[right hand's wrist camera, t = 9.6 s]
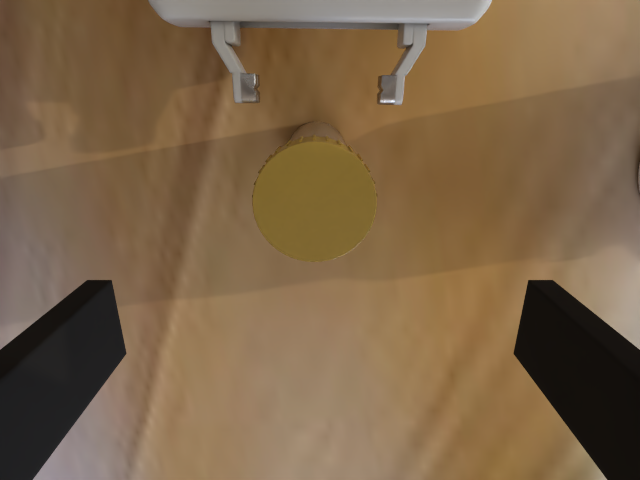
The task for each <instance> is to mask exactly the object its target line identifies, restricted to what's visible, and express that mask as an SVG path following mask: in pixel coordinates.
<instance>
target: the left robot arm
mask: <svg viewBox="0 0 640 480" xmlns="http://www.w3.org/2000/svg"><path fill="white" fill-rule="evenodd" d="M148 1H149V3H150V5H151V6H152V8H153V9H154V10H155V11H156V13H157V14H158V15H159V16H160V17H161V18H162V19H163V20H165V21H167V22H168V23H171V24H173V25H175V26H179V27H211V35H212V43H213V45H214V47H215V48H216V50H217V52H218V53H219V55H220V57H221V58H222V60H223V62H224V63H225V65H226V67H227V68H228V70H229V72H230V73H232V78H233V94H234V101H235V103H259V102H260V92H259V91H258V87H259V86H260V84H259V75H257V74H247V73H246V71H245V69H244V67H243V66H242V64H241V62H240V60H239V59H238V57H237V55H236V53H235V51H234V50H233V48H232V46H240V45H241V38H240V28H301V29H381V30H398V41H397V47H398V48H406V50H405V51H404V53H403V55H402V56H401V58H400V60H399V62H398V63H397V65H396V67H395V68H394V70H393V72H392V73H391V75H381V76H378V88H379V90H380V91H379V92H378V94H377V104H383V105H401V104H402V101H403V92H404V80H405V75H407V74H408V72H409V71H410V69H411V68H412V66H413V64H414V63H415V61H416V60H417V58H418V57H419V55H420V53H421V52H422V50H423V49H424V47H425V44H426V34H427V30H461V29H464V28H467V27H469V26H471V25H473V24H475V23H476V22H477V21H478V20H479V19H480V18H481V17H482V15H483V14H484V13H485V12H486V11H487V9H488V8H489V6H490V4H491V1H492V0H148ZM638 183H639V191H640V164H639V172H638Z"/></svg>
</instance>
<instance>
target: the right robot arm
mask: <svg viewBox="0 0 640 480" xmlns="http://www.w3.org/2000/svg"><path fill="white" fill-rule="evenodd" d="M125 355H126V349H125V344H124V339H123V334H122V329H121V324H120V319H119V315H118V310H117V305H116V300H115V295H114V290H113V285H112V280H87V281H86V282H84V283H83V284H82V285H81V286H79V287H78V288H77V289H76V290H74V291H73V292H72V293H71V294H69V295H68V296H67V297H66V298H64V299H63V300H62V301H61V302H59V303H58V304H57V305H56V306H54V307H53V308H52V309H51V310H49V311H48V312H47V313H46V314H44V315H43V316H42V317H41V318H39V319H38V320H37V321H36V322H35V323H33V324H32V325H31V326H30V327H28V328H27V329H26V330H25V331H23V332H22V333H21V334H20V335H18V336H17V337H16V338H15V339H13V340H12V341H11V342H10V343H8V344H7V345H6V346H5V347H3V348H2V349H1V350H0V480H33V478H34V477H35V476H36V474H37V473H38V472H39V470H40V469H41V468H42V466H43V465H44V464H45V462H46V461H47V460H48V458H49V457H50V456H51V454H52V453H53V452H54V450H55V449H56V448H57V446H58V445H59V444H60V442H61V441H62V439H63V438H64V437H65V435H66V434H67V433H68V431H69V430H70V429H71V427H72V426H73V425H74V423H75V422H76V421H77V419H78V418H79V417H80V415H81V414H82V413H83V411H84V410H85V409H86V407H87V406H88V405H89V403H90V402H91V401H92V399H93V398H94V396H95V395H96V394H97V392H98V391H99V390H100V388H101V387H102V386H103V384H104V383H105V382H106V380H107V379H108V378H109V376H110V375H111V374H112V372H113V371H114V370H115V368H116V367H117V366H118V364H119V363H120V362H121V360H122V359H123V358H124V356H125ZM514 355H515V356H516V358H517V359H518V360H519V362H520V363H521V364H522V366H523V367H524V368H525V370H526V371H527V372H528V374H529V375H530V376H531V378H532V379H533V380H534V382H535V383H536V384H537V386H538V387H539V388H540V390H541V391H542V392H543V394H544V395H545V396H546V398H547V399H548V401H549V402H550V403H551V405H552V406H553V407H554V409H555V410H556V411H557V413H558V414H559V415H560V417H561V418H562V419H563V421H564V422H565V423H566V425H567V426H568V427H569V429H570V430H571V431H572V433H573V434H574V435H575V437H576V438H577V439H578V441H579V442H580V444H581V445H582V446H583V448H584V449H585V450H586V452H587V453H588V454H589V456H590V457H591V458H592V460H593V461H594V462H595V464H596V465H597V466H598V468H599V469H600V470H601V472H602V473H603V474H604V476H605V477H606V478H607V480H640V350H639V349H638V348H637V347H635V346H634V345H633V344H632V343H630V342H629V341H628V340H627V339H625V338H624V337H623V336H622V335H620V334H619V333H618V332H617V331H615V330H614V329H613V328H612V327H610V326H609V325H608V324H607V323H605V322H604V321H603V320H602V319H601V318H599V317H598V316H597V315H596V314H594V313H593V312H592V311H591V310H589V309H588V308H587V307H586V306H584V305H583V304H582V303H581V302H579V301H578V300H577V299H576V298H574V297H573V296H572V295H571V294H569V293H568V292H567V291H566V290H564V289H563V288H562V287H561V286H559V285H558V284H557V283H556V282H554V281H553V280H528V285H527V290H526V295H525V300H524V305H523V310H522V315H521V319H520V324H519V329H518V334H517V339H516V344H515V349H514Z"/></svg>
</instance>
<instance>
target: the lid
mask: <svg viewBox="0 0 640 480" xmlns="http://www.w3.org/2000/svg"><path fill="white" fill-rule="evenodd" d="M362 161H363V160H362V158H361V157H360V155H359V154H356V153H354V152H353V150H352V148H351V147H350V146H348V147H347V146H346V145H344V144H342V143H341V142H340V140H337V141H336V140H333V139H330V138H328V136H326V137H318V136H315V135H313V136H312V137H304V138H303V136H301V137H300V138H299V139H296V140H293V141H291V140H289V141H288V143H287V144H286V145H284V146H283V147H278V149H277V150H276V151H275V153H274V154H273V156H272V155H270V156H269V158H268V159H267V160H266V161H265V162H266V164H265V165H263V167H262V168H261V169H260V170H259V172H258V173H260V174H259V176H258V178H257V180H256V181H255V183H254V185H255V186H254V191H253V195H252V198H253V203H252V204H253V212H254V216H255V220H256V223H257V225H258V227H259V229H260V231H261V233H262V234H263V236H264V237H265V238H266V240H267V241H268V242H269V243H270V244H271V245H272V246H273V247H275V248H276V249H277V250H278V251H280V252H282V253H283V254H285V255H287V256H289V257H291V258H294V259H297V260H302V261H308V262H322V261H328V260H332V259H335V258H338V257H340V256H343V255H345V254H346V253H348V252H350V251H351V250H352V249H354V248H355V247H356V246H357V245H358V244H359V243H360V242H361V241H362V240H363V239H364V238H365V236H366V235H367V233H368V232H369V230H370V228H371V226H372V224H373V221H374V218H375V214H376V208H377V194H376V190H375V186H374V184H375V182H374V180H373V178H372V177H371V175H370V174H369V172H370V170H369V168H368V167H367V165H366V164H363V162H362Z"/></svg>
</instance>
